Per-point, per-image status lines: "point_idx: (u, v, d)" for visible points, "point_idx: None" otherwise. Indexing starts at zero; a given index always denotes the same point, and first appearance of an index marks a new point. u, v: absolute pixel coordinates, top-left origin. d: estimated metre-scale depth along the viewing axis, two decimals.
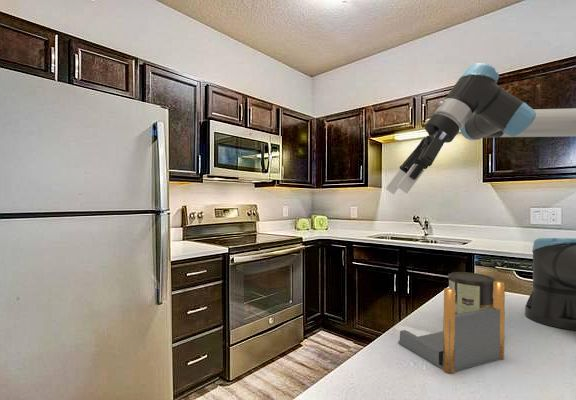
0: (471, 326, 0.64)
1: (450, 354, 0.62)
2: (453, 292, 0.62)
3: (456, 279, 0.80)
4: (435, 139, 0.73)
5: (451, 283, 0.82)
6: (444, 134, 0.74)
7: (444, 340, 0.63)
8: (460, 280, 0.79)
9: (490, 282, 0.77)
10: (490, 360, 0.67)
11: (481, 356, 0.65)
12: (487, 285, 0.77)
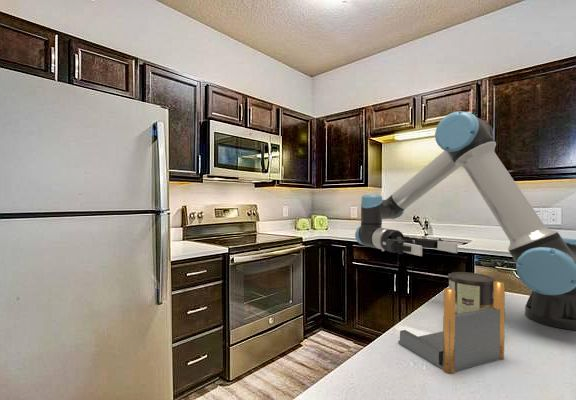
0: (471, 326, 0.64)
1: (450, 354, 0.62)
2: (453, 292, 0.62)
3: (456, 279, 0.80)
4: (386, 246, 1.01)
5: (451, 283, 0.82)
6: (383, 242, 1.03)
7: (444, 340, 0.63)
8: (460, 280, 0.79)
9: (490, 282, 0.77)
10: (490, 360, 0.67)
11: (481, 356, 0.65)
12: (487, 285, 0.77)
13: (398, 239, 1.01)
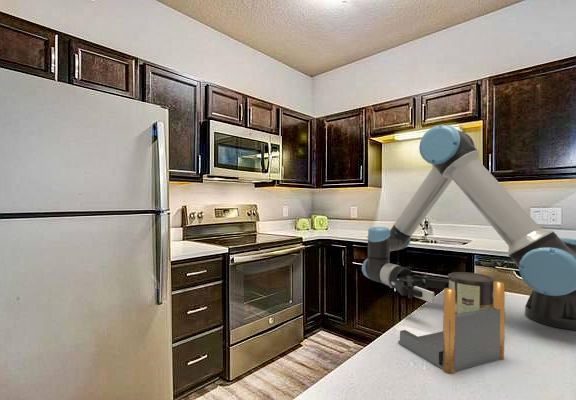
0: (471, 326, 0.64)
1: (450, 354, 0.62)
2: (453, 292, 0.62)
3: (456, 279, 0.80)
4: (395, 287, 0.96)
5: (451, 283, 0.82)
6: (392, 282, 0.99)
7: (444, 340, 0.63)
8: (460, 280, 0.79)
9: (490, 282, 0.77)
10: (490, 360, 0.67)
11: (481, 356, 0.65)
12: (487, 285, 0.77)
13: (408, 280, 0.96)
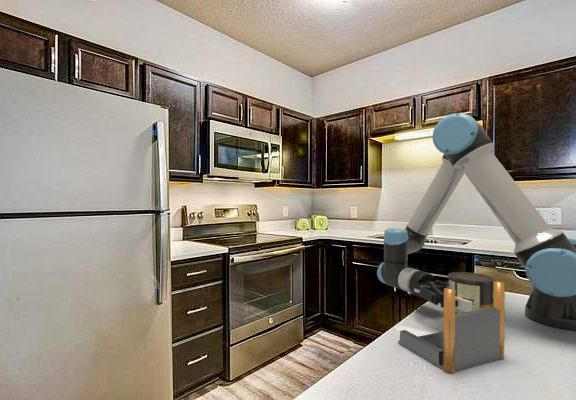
0: (471, 326, 0.64)
1: (450, 354, 0.62)
2: (453, 292, 0.62)
3: (456, 279, 0.80)
4: (421, 295, 0.88)
5: (451, 283, 0.82)
6: (415, 289, 0.90)
7: (444, 340, 0.63)
8: (460, 280, 0.79)
9: (490, 282, 0.77)
10: (490, 360, 0.67)
11: (481, 356, 0.65)
12: (487, 285, 0.77)
13: (434, 286, 0.89)
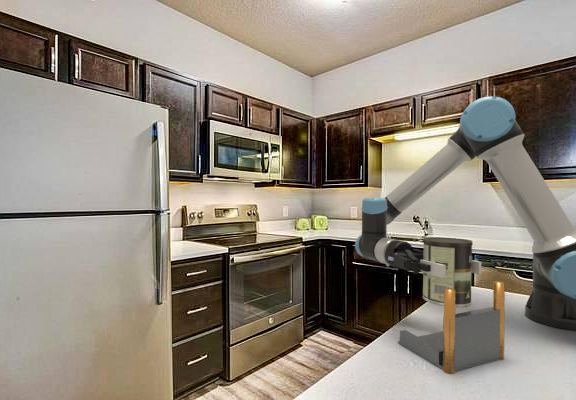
0: (471, 326, 0.64)
1: (450, 354, 0.62)
2: (453, 292, 0.62)
3: (430, 242, 0.73)
4: (394, 263, 0.81)
5: (425, 247, 0.74)
6: (389, 257, 0.83)
7: (444, 340, 0.63)
8: (434, 242, 0.72)
9: (466, 244, 0.70)
10: (490, 360, 0.67)
11: (481, 356, 0.65)
12: (462, 247, 0.69)
13: (409, 253, 0.81)
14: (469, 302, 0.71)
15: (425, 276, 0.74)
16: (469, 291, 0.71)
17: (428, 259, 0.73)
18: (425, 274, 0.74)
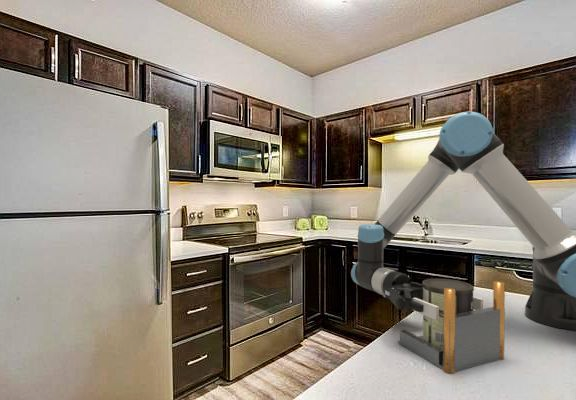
0: (471, 326, 0.64)
1: (450, 354, 0.62)
2: (453, 292, 0.62)
3: (430, 287, 0.70)
4: (390, 298, 0.79)
5: (425, 292, 0.72)
6: (385, 291, 0.81)
7: (444, 340, 0.63)
8: (434, 288, 0.69)
9: (468, 291, 0.67)
10: (490, 360, 0.67)
11: (481, 356, 0.65)
12: (464, 294, 0.67)
13: (405, 289, 0.79)
14: None
15: (425, 322, 0.72)
16: None
17: None
18: (425, 320, 0.72)
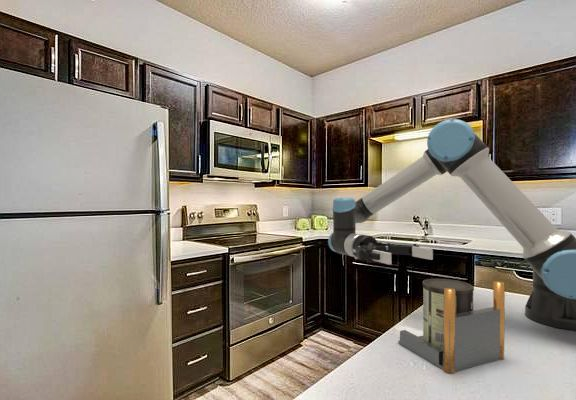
0: (471, 326, 0.64)
1: (450, 354, 0.62)
2: (453, 292, 0.62)
3: (430, 287, 0.70)
4: (356, 254, 0.91)
5: (425, 292, 0.72)
6: (353, 249, 0.93)
7: (444, 340, 0.63)
8: (434, 288, 0.69)
9: (468, 291, 0.67)
10: (490, 360, 0.67)
11: (481, 356, 0.65)
12: (464, 294, 0.67)
13: (369, 246, 0.91)
14: None
15: (425, 322, 0.72)
16: None
17: (428, 305, 0.71)
18: (425, 320, 0.72)
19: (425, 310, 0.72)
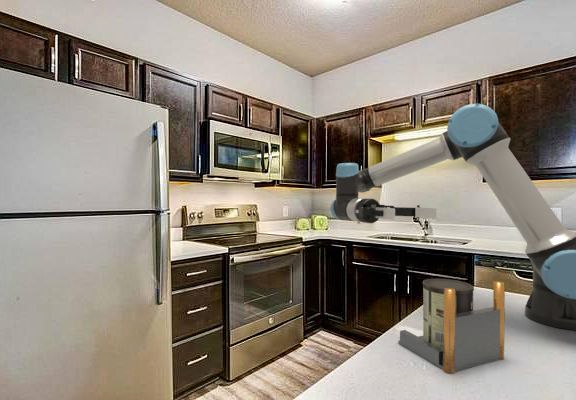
0: (471, 326, 0.64)
1: (450, 354, 0.62)
2: (453, 292, 0.62)
3: (430, 287, 0.70)
4: (359, 214, 0.91)
5: (425, 292, 0.72)
6: (356, 210, 0.93)
7: (444, 340, 0.63)
8: (434, 288, 0.69)
9: (468, 291, 0.67)
10: (490, 360, 0.67)
11: (481, 356, 0.65)
12: (464, 294, 0.67)
13: (372, 206, 0.91)
14: None
15: (425, 322, 0.72)
16: None
17: (428, 305, 0.71)
18: (425, 320, 0.72)
19: (425, 310, 0.72)
